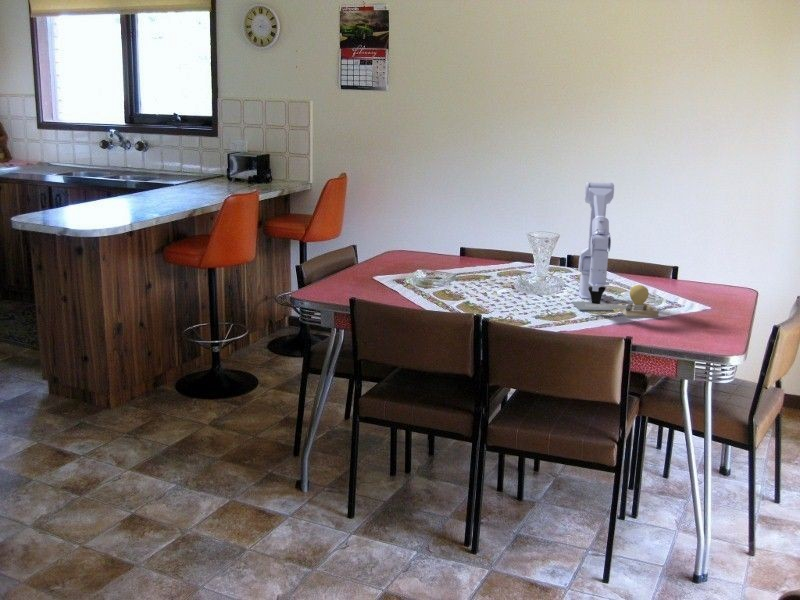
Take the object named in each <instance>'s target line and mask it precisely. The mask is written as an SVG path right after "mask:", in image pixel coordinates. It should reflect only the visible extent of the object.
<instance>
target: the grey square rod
mask: <svg viewBox="0 0 800 600" xmlns="http://www.w3.org/2000/svg"><path fill="white" fill-rule="evenodd" d="M625 304H626V305H618V303H617V304H616V303H613V304H612V303H606V304H599V303H586V304H585V307H597V308H612V309H613V310H614V309H617V310H618V309H625V310H631V304H632V303H625Z"/></svg>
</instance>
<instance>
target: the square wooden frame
mask: <svg viewBox="0 0 800 600" xmlns="http://www.w3.org/2000/svg"><path fill="white" fill-rule="evenodd" d="M626 304H627V303H617V305H626ZM630 304H631V310H625V309H617V310H618V311H619V312H620V313H622V314H623V315H624V316H625V317H628V318H629V317H630V318H631V317H632V318H634V317H635V318H637V317H638V318H640V317H641V318H644V317H645V318H659V311H658V310H657V309H656V308H655V307H653V306H652V305H651V304H649V303H643V305H644V306H643V309H646V310H632V307H633V303H630Z"/></svg>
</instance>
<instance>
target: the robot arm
mask: <svg viewBox="0 0 800 600" xmlns="http://www.w3.org/2000/svg"><path fill="white" fill-rule="evenodd" d="M614 194H615V185H614V182H594V181H591V182H590V181H587V182H586V183H585V192H584V202H585V203H586V204H589V206H590V215H589V216H590V217H589V228H588V241H587V242H588V243H587V247H586V248H584V249H582V250H581V251H580V253H579V258H578V271H579V272H580V273H581V275H580V277H579V285H578V291H576V295H578V297H580V298H581V299H583V300H584V299H589V300H590V299H591V302H592V303H599V304H600V302H602V301H601V300H602V299H604V297H603V294H604V292H605V291H606V288H607V287H605V286H609V285H610V282H609V281H607V277H608V276H607V275H608V274H607V273H608V263H609V261H608V260H609V252H610V250H611V247H612V237H611V233H610V221H609V218H607V217H606V214H607V213H606V212H607V205H609V204H611V202H612V201H613V199H614V196H615V195H614ZM595 308H597V307H595Z"/></svg>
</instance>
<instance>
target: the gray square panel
mask: <svg viewBox="0 0 800 600" xmlns="http://www.w3.org/2000/svg"><path fill="white" fill-rule="evenodd" d="M586 303H592V301H571V304H572V305H573V306H574V307H575V308H576V309H577V310H579V312H585V311H586V312H614V308H595V307H585V304H586ZM600 304H607V303H606V302H605V301H600Z"/></svg>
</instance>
